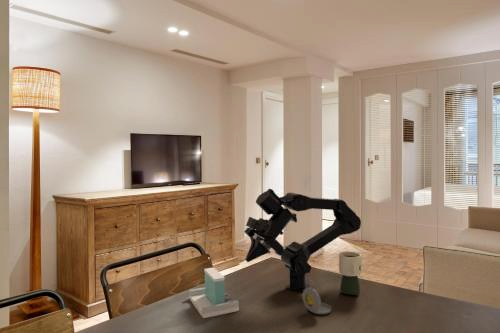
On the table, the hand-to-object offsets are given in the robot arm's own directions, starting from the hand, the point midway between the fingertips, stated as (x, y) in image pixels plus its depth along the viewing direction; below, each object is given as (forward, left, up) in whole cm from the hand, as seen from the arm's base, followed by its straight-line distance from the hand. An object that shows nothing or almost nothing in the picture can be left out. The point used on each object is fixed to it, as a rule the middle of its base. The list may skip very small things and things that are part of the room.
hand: (246, 261), depth 116 cm
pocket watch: (-2, +23, -12) cm, 26 cm away
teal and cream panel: (+9, -6, -11) cm, 15 cm away
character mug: (-20, +28, -12) cm, 36 cm away
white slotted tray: (+9, -6, -12) cm, 16 cm away
